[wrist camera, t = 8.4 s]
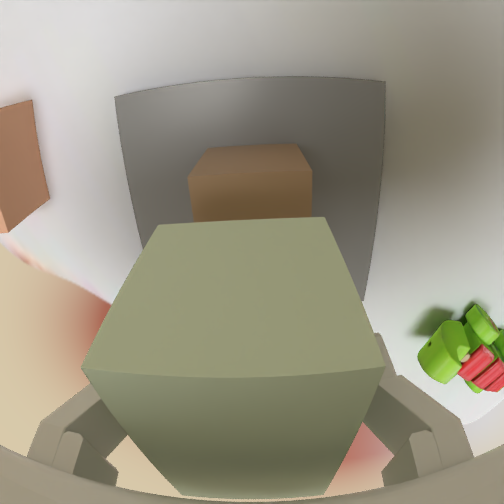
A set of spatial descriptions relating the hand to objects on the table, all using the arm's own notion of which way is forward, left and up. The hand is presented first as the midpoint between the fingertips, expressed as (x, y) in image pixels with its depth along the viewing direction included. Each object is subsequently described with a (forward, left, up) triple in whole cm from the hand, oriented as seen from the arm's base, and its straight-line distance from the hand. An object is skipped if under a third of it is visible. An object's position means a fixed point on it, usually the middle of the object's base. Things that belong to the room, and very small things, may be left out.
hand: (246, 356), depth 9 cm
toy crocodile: (-21, +15, -11) cm, 28 cm away
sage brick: (0, 0, -2) cm, 2 cm away
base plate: (0, 0, -11) cm, 11 cm away
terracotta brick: (+16, -5, -11) cm, 20 cm away
